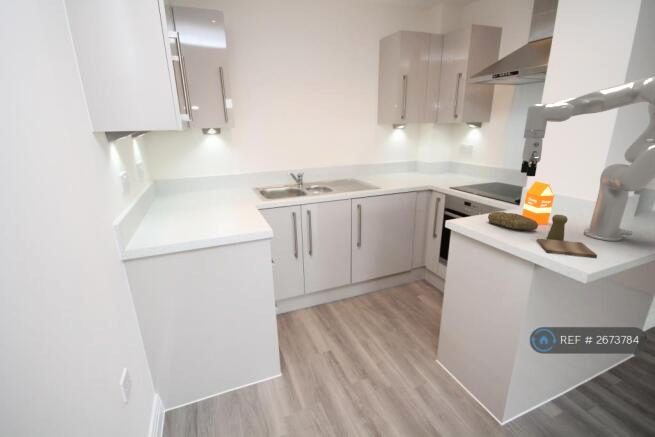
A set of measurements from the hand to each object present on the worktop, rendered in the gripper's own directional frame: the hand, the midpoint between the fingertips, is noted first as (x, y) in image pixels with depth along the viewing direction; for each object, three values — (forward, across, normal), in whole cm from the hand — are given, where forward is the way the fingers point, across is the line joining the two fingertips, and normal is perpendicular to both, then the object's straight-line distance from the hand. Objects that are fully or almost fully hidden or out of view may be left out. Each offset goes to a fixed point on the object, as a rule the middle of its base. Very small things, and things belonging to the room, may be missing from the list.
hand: (527, 174), depth 136 cm
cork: (+27, -10, -12) cm, 31 cm away
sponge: (+27, +4, +2) cm, 27 cm away
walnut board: (+26, -20, -12) cm, 35 cm away
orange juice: (+27, +16, -11) cm, 33 cm away
